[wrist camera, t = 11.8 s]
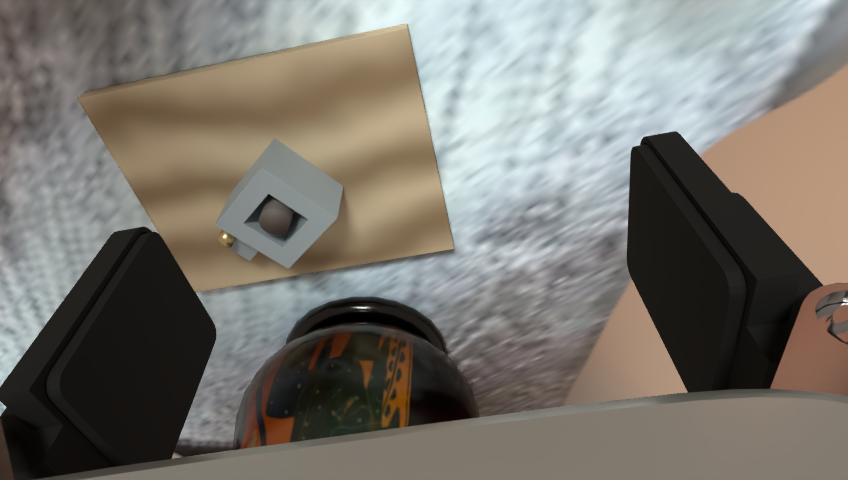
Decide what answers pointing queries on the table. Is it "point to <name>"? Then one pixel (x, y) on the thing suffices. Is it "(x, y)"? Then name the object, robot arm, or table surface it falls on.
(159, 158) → the post base
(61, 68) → the table surface
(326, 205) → the grey square hole block
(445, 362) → the black orange vase
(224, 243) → the cylinder
